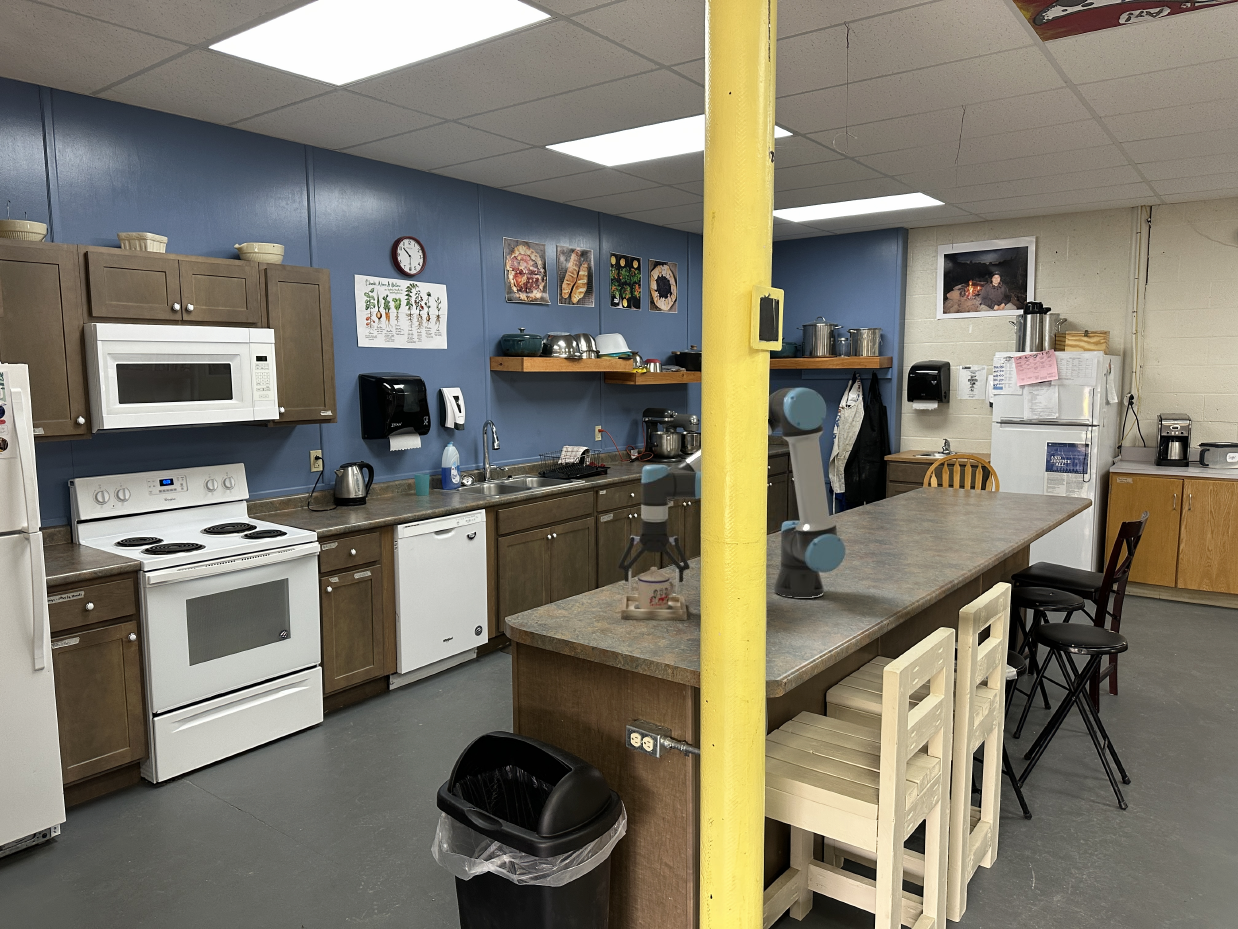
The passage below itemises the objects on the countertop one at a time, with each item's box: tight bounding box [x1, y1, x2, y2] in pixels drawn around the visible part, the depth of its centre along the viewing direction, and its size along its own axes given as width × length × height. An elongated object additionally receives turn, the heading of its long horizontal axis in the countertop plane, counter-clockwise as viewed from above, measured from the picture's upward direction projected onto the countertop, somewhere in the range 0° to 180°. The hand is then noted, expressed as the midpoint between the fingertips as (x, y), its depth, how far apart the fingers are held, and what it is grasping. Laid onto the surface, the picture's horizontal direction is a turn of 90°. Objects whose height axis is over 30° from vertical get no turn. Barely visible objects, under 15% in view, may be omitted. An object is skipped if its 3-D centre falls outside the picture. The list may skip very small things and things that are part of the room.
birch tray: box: [620, 594, 688, 621], centre depth 236 cm, size 18×17×2 cm
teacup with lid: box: [637, 566, 675, 610], centre depth 235 cm, size 12×9×12 cm
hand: (653, 593), depth 236 cm, fingers open, 13 cm apart
